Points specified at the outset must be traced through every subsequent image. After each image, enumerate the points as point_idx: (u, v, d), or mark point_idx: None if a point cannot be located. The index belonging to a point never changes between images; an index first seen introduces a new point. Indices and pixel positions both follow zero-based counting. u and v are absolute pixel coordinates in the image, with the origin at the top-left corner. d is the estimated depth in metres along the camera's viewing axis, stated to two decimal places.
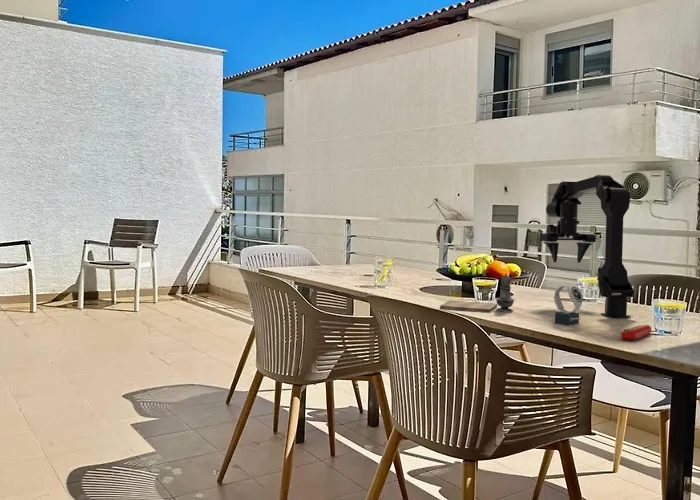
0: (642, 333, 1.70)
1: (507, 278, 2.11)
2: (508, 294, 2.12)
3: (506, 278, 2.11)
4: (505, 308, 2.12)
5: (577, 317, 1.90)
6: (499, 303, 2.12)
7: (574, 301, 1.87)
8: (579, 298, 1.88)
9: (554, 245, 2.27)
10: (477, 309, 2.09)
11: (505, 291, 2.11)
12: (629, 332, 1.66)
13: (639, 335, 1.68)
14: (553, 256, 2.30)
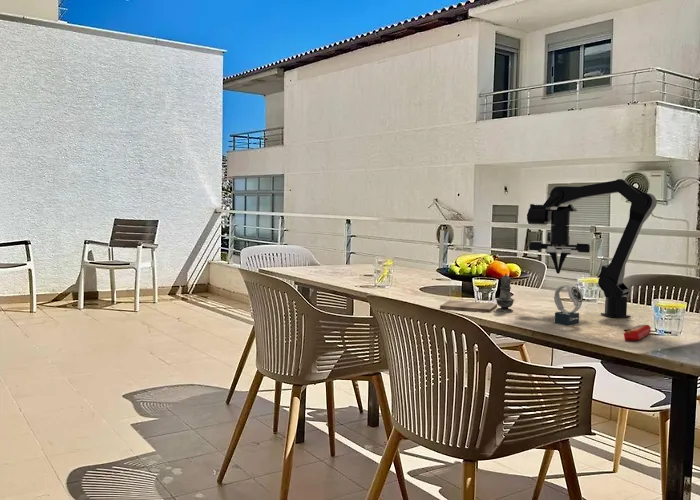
0: (644, 334, 1.70)
1: (507, 278, 2.11)
2: (508, 294, 2.12)
3: (506, 278, 2.11)
4: (505, 308, 2.12)
5: (577, 317, 1.90)
6: (499, 303, 2.12)
7: (574, 301, 1.87)
8: (579, 298, 1.88)
9: (551, 255, 2.14)
10: (477, 309, 2.09)
11: (505, 291, 2.11)
12: (632, 332, 1.66)
13: (641, 335, 1.68)
14: (555, 266, 2.16)
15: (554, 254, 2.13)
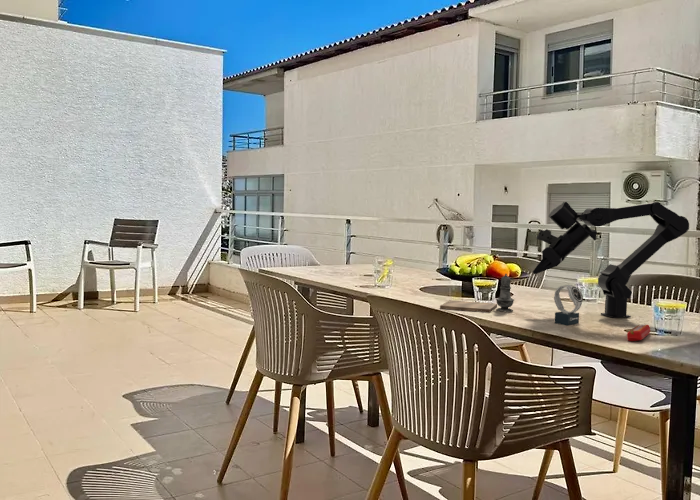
0: (645, 334, 1.70)
1: (507, 278, 2.11)
2: (508, 294, 2.12)
3: (506, 278, 2.11)
4: (505, 308, 2.12)
5: (577, 317, 1.90)
6: (499, 303, 2.12)
7: (574, 301, 1.87)
8: (579, 298, 1.88)
9: None
10: (477, 309, 2.09)
11: (505, 291, 2.11)
12: (635, 333, 1.66)
13: (644, 335, 1.68)
14: (539, 269, 2.08)
15: None
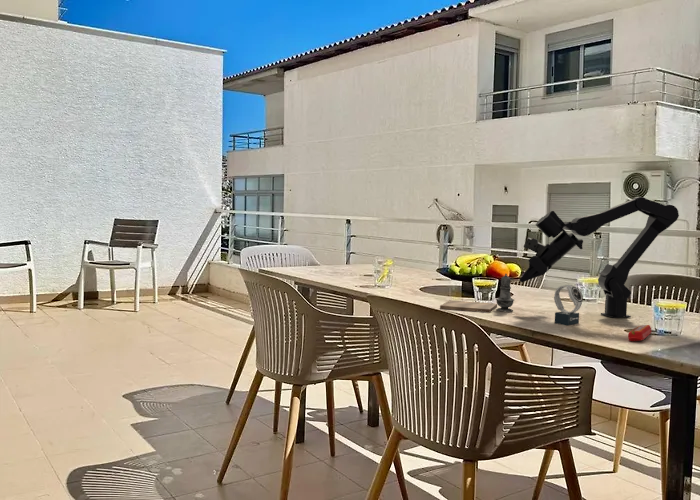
0: (646, 334, 1.70)
1: (507, 278, 2.11)
2: (508, 294, 2.12)
3: (506, 278, 2.11)
4: (505, 308, 2.12)
5: (577, 317, 1.90)
6: (499, 303, 2.12)
7: (574, 301, 1.87)
8: (579, 298, 1.88)
9: (540, 275, 2.07)
10: (477, 309, 2.09)
11: (505, 291, 2.11)
12: (636, 333, 1.65)
13: (645, 336, 1.68)
14: (525, 277, 2.09)
15: None
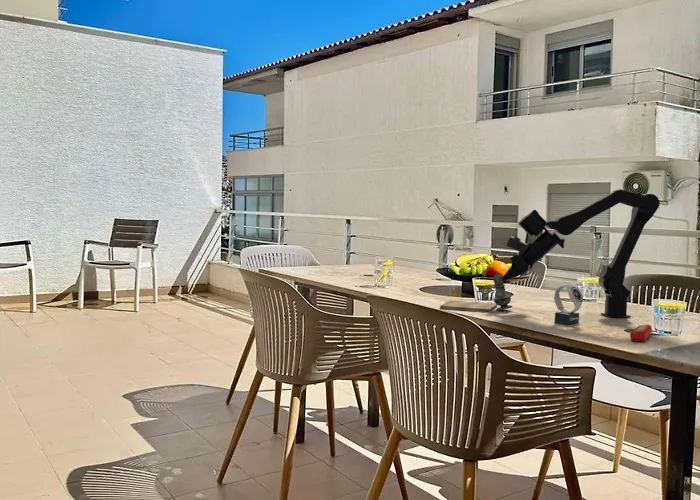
0: (648, 334, 1.69)
1: (498, 276, 2.12)
2: (504, 291, 2.12)
3: (498, 276, 2.12)
4: (504, 306, 2.12)
5: (577, 317, 1.90)
6: (497, 302, 2.12)
7: (574, 301, 1.87)
8: (579, 298, 1.88)
9: None
10: (477, 309, 2.09)
11: (500, 289, 2.12)
12: (639, 333, 1.65)
13: (647, 335, 1.67)
14: (508, 276, 2.11)
15: None
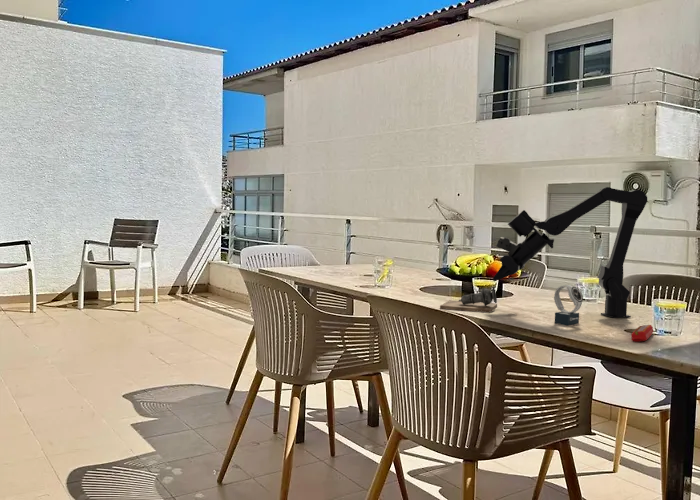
0: (649, 334, 1.69)
1: (462, 298, 2.17)
2: (477, 294, 2.15)
3: (462, 299, 2.16)
4: (491, 294, 2.13)
5: (577, 317, 1.90)
6: (487, 301, 2.13)
7: (574, 301, 1.87)
8: (579, 298, 1.88)
9: (512, 274, 2.10)
10: (477, 309, 2.09)
11: (474, 298, 2.15)
12: (640, 333, 1.65)
13: (648, 336, 1.67)
14: (498, 276, 2.12)
15: (513, 273, 2.11)
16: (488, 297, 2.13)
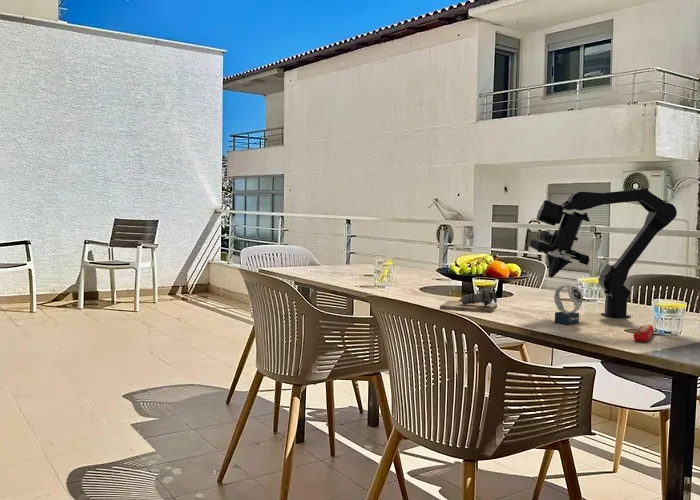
0: (651, 334, 1.69)
1: (462, 298, 2.17)
2: (477, 294, 2.15)
3: (462, 299, 2.16)
4: (491, 294, 2.13)
5: (577, 317, 1.90)
6: (487, 301, 2.13)
7: (574, 301, 1.87)
8: (579, 298, 1.88)
9: (555, 260, 2.05)
10: (477, 309, 2.09)
11: (474, 298, 2.15)
12: (642, 333, 1.65)
13: (650, 336, 1.67)
14: (550, 270, 2.08)
15: (558, 260, 2.05)
16: (488, 297, 2.13)
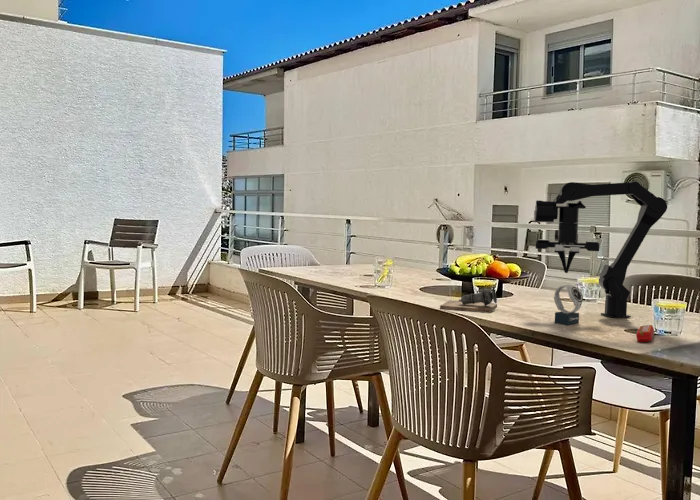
0: (652, 334, 1.69)
1: (462, 298, 2.17)
2: (477, 294, 2.15)
3: (462, 299, 2.16)
4: (491, 294, 2.13)
5: (577, 317, 1.90)
6: (487, 301, 2.13)
7: (574, 301, 1.87)
8: (579, 298, 1.88)
9: (559, 253, 2.05)
10: (477, 309, 2.09)
11: (474, 298, 2.15)
12: (645, 334, 1.65)
13: (652, 336, 1.67)
14: (563, 266, 2.07)
15: (562, 253, 2.05)
16: (488, 297, 2.13)
